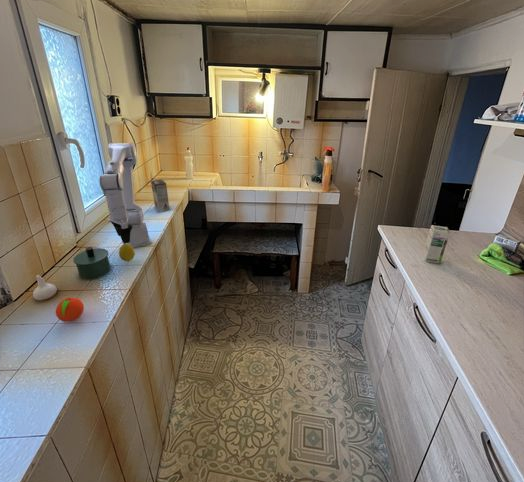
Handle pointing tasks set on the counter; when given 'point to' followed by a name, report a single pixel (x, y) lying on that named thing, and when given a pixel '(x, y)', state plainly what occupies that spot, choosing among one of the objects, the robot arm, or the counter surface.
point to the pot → (94, 270)
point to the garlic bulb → (44, 289)
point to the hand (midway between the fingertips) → (124, 238)
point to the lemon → (126, 252)
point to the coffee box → (160, 195)
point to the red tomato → (69, 309)
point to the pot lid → (90, 256)
